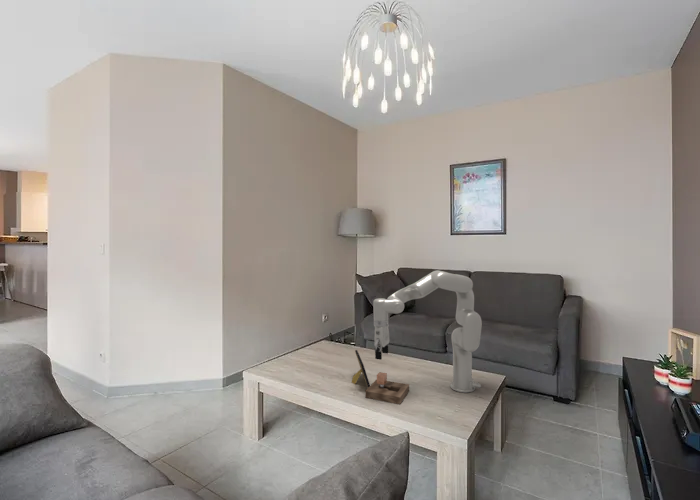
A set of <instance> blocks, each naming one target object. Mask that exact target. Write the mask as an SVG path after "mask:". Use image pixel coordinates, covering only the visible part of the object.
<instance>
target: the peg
mask: <svg viewBox="0 0 700 500" xmlns="http://www.w3.org/2000/svg"><path fill="white" fill-rule="evenodd" d="M376 379H377V384H380V388H384V385H385V384H386V382H387V381H388V374H387V373H386V372H378V373H377V374H376Z"/></svg>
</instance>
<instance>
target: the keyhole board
mask: <svg viewBox="0 0 700 500" xmlns="http://www.w3.org/2000/svg"><path fill="white" fill-rule="evenodd" d="M409 392H410V384H408V383H402V382H398V381H397V382H396V381H390V380H387V382H386V384H385V385H384V388H380V384H377V378H376V379H375V380H374V381H373V382H372V384H370V387H369V388H368V387H367V388H366V390H365V392H364V393H365V394H364V395H365V398H366V399H371V400H375V401H379V402H384V403H390V404H395V405H396V404H397V405H401V404H402V403H403V401H404V399H406V397H407V395H408V394H409Z"/></svg>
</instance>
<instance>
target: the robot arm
mask: <svg viewBox="0 0 700 500" xmlns="http://www.w3.org/2000/svg"><path fill="white" fill-rule="evenodd" d="M473 287H474V282H473V280H472V278H470V277H469V276H466V275H462V274H457V273H455V274H454V273H451V272H447V271H442V270H439V269H438V270H433V271H432V272H430V273H428V274H426V275H425V276H423V277H422V278H420V279H419V280H417V281H416V282H413V283H412V284H409V285H407V286H405V287H403V288H401V289H398V290H397V291H395V292H394V293H392V294H390V295H389V296H388V297H387V299H386V298H384V297H383V298H381V297H380V298H379V297H378V298H375V299H374V300H373V301H372V305H373V310H372V311H373V327H374V339H373V340H374V345H373V346H374V357H375V360H382V358H383V357H382V354H389V343H390V331H389V328H390V327H389V326H390V325H389V314H396V315H397V314H401V313H402V312H403V311H404V309H405V303H407V302H409V301H411V300H417V299H418V300H419V299H422V298H425V297H426V296H428V295H429V294H431V293H432V292H434V291H436V290H437V289H442V290H446V291H450V292H451V291H452V292H455V293H456V298H457V299H456V311H455V321H456V323H457V324H458V325H460V326H462V327H460V326H459V327H456V328H455V329H453V331H452V333H451V336H450V337H451V340H450V341H451V345H452V381H451V382H450V384H449V387H450V389H452V390H453V391H455V392H458V393H467V394H468V393H472V392H475V390H476V388H477V389H481V387H482V384H481V383H479V382H478V381H476V382H475V381H474V378H473V354H472V353H473V352H475V351H477V349H478V348H479V346H480V343H481V338H482V337H481V336H482V328H483V327H482V326H483V325H482V323H483V322H482V317H481V315H480V314H479V313H478V312H476V311H475V310H474V309H475V293H474V291H473Z"/></svg>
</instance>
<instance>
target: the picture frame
mask: <svg viewBox="0 0 700 500" xmlns="http://www.w3.org/2000/svg"><path fill="white" fill-rule="evenodd" d="M354 353H355V355H356V358H357V361H358V365H359V368H360V369H359V370H358V371H357V372H356V373H355V374H354V375H353V376H352V379H351V383H352V384H353V385H356V384H357V382H358V381H359V378H360V377H361V375H362V377H363V379H364V382H365V384H366V386H367V389H368V388H369V387H370V386H371V384H370V381H369V377H368V375H367V371H366V368H365V365H364V362H363V361H362V358H361V355H360V353H359V351H358V349H356V350H354Z"/></svg>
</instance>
